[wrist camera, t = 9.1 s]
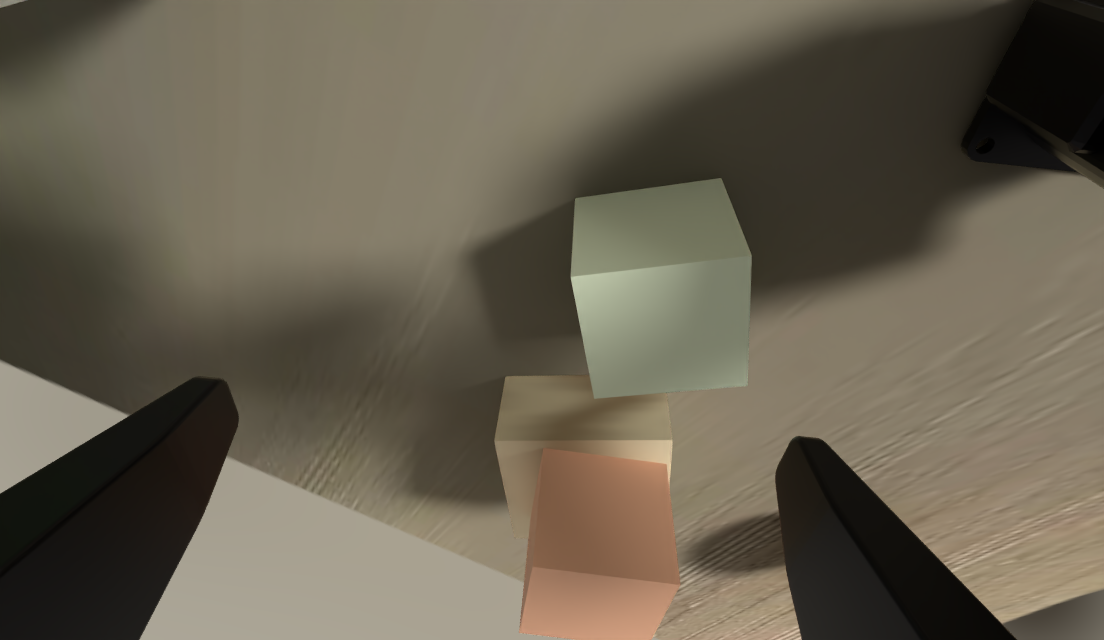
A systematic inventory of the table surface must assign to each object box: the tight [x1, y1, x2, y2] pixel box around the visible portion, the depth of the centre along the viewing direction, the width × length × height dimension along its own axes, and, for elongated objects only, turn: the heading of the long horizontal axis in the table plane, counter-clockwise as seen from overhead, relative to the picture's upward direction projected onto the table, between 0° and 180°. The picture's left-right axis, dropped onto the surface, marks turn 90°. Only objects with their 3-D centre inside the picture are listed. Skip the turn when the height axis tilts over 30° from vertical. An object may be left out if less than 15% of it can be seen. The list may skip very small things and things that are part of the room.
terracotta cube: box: [519, 448, 680, 640], centre depth 23 cm, size 5×5×5 cm
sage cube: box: [571, 178, 752, 399], centre depth 20 cm, size 5×5×5 cm
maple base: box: [494, 375, 673, 538], centre depth 27 cm, size 7×7×4 cm
